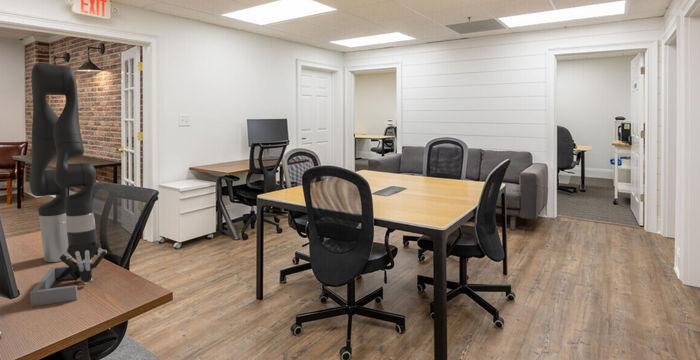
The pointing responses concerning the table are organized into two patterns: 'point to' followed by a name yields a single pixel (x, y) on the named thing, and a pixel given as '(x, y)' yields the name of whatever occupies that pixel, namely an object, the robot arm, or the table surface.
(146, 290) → the table surface
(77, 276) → the power plug
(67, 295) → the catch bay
